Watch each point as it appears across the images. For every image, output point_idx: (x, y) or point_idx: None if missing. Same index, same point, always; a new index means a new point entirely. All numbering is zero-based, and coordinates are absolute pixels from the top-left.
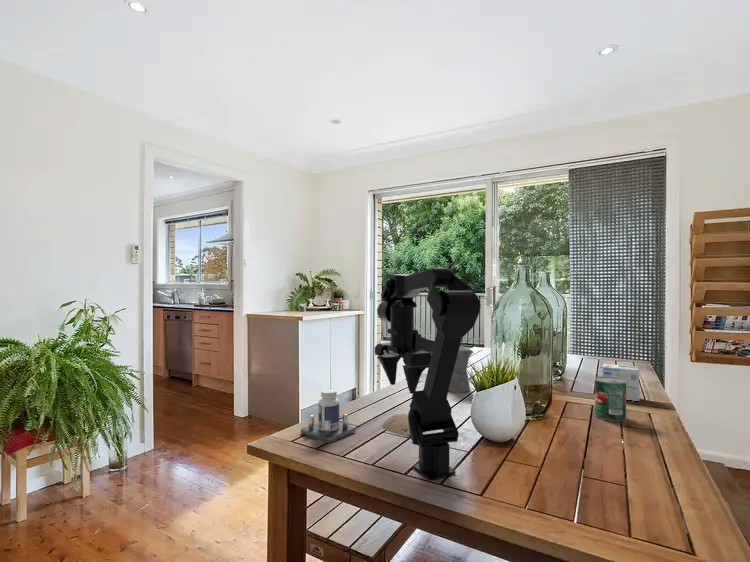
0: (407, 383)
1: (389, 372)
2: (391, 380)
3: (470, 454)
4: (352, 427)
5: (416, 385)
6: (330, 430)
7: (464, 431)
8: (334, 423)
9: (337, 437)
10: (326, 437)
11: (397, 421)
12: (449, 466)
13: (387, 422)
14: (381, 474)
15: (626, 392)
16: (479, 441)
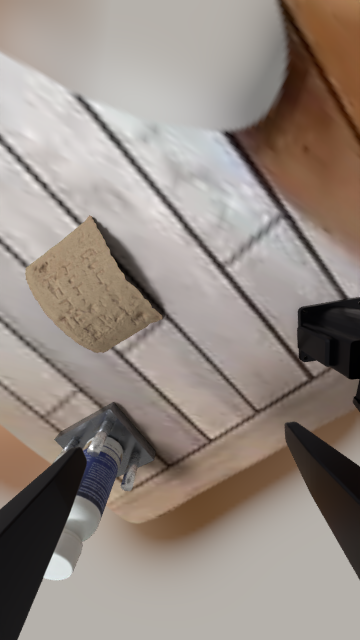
0: (347, 548)
1: (22, 595)
2: (71, 493)
3: (298, 218)
4: (107, 413)
5: (355, 469)
6: (122, 453)
7: (161, 150)
8: (115, 460)
9: (140, 438)
10: (147, 459)
11: (94, 322)
12: (342, 300)
13: (89, 341)
14: (295, 409)
15: None
16: (239, 144)
